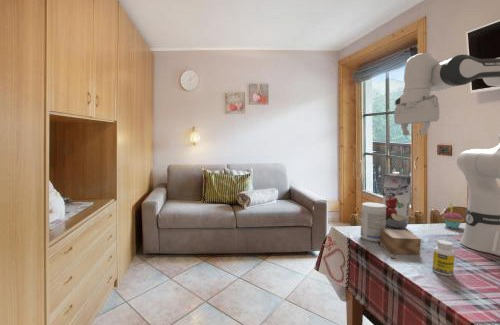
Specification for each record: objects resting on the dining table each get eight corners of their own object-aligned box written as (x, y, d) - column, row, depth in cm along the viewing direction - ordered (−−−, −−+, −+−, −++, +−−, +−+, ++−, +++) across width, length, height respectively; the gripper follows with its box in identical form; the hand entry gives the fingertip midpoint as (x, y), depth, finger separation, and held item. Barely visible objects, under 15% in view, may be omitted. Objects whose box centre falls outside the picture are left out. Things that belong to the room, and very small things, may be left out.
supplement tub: (389, 239, 115) (391, 205, 114) (376, 244, 109) (378, 208, 108) (368, 233, 123) (370, 201, 122) (355, 237, 117) (356, 203, 116)
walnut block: (405, 244, 109) (406, 230, 109) (419, 255, 99) (420, 239, 99) (380, 243, 110) (381, 229, 110) (391, 253, 100) (392, 238, 100)
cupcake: (437, 224, 138) (439, 201, 137) (452, 224, 139) (454, 201, 138) (451, 230, 129) (453, 205, 128) (468, 229, 130) (470, 205, 129)
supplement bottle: (434, 274, 85) (437, 243, 84) (430, 267, 90) (432, 238, 89) (455, 277, 83) (458, 246, 82) (450, 270, 88) (452, 240, 87)
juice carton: (386, 222, 139) (389, 170, 137) (409, 228, 131) (413, 172, 129) (379, 226, 133) (382, 171, 131) (403, 231, 125) (406, 173, 123)
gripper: (446, 94, 93) (443, 134, 94) (406, 102, 113) (404, 135, 114) (428, 93, 92) (426, 134, 93) (391, 101, 113) (390, 135, 114)
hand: (413, 135), depth 104 cm, fingers open, 8 cm apart
